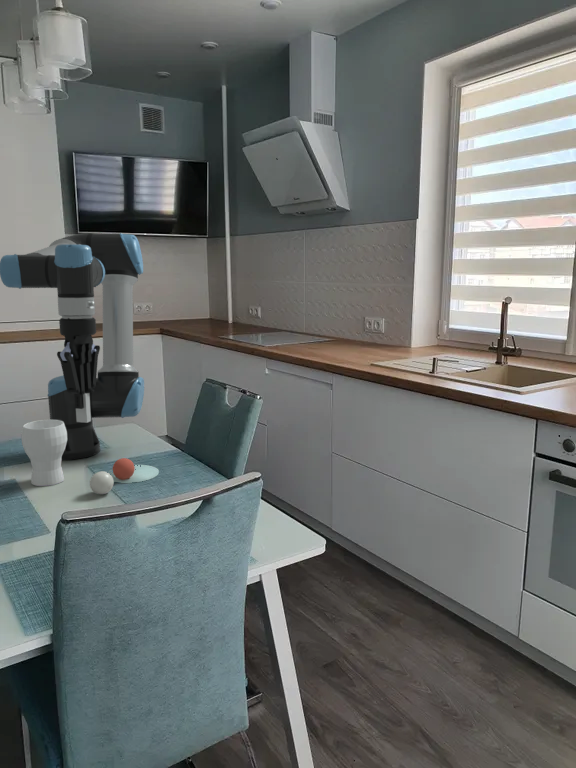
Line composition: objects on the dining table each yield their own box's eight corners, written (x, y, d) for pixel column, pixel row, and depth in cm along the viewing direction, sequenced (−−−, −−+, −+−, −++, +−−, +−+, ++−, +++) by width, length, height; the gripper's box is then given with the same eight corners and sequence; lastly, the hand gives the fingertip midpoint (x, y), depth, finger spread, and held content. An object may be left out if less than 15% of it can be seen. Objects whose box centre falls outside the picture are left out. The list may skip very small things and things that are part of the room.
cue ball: (85, 470, 140) (93, 486, 144) (87, 486, 136) (94, 502, 140) (108, 463, 141) (115, 479, 145) (110, 479, 137) (117, 494, 141)
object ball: (104, 465, 149) (116, 463, 154) (113, 484, 148) (125, 482, 153) (122, 455, 148) (132, 453, 153) (131, 474, 147) (141, 472, 152)
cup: (25, 477, 152) (20, 421, 149) (68, 471, 156) (65, 417, 153) (25, 491, 142) (20, 431, 140) (71, 485, 146) (67, 427, 144)
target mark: (95, 473, 155) (94, 472, 155) (142, 462, 164) (142, 461, 164) (120, 487, 145) (120, 486, 145) (169, 474, 154) (168, 473, 154)
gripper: (74, 319, 120) (81, 430, 125) (108, 315, 133) (114, 415, 137) (43, 318, 122) (51, 427, 127) (79, 314, 135) (85, 413, 139)
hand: (83, 421), depth 132 cm, fingers closed
